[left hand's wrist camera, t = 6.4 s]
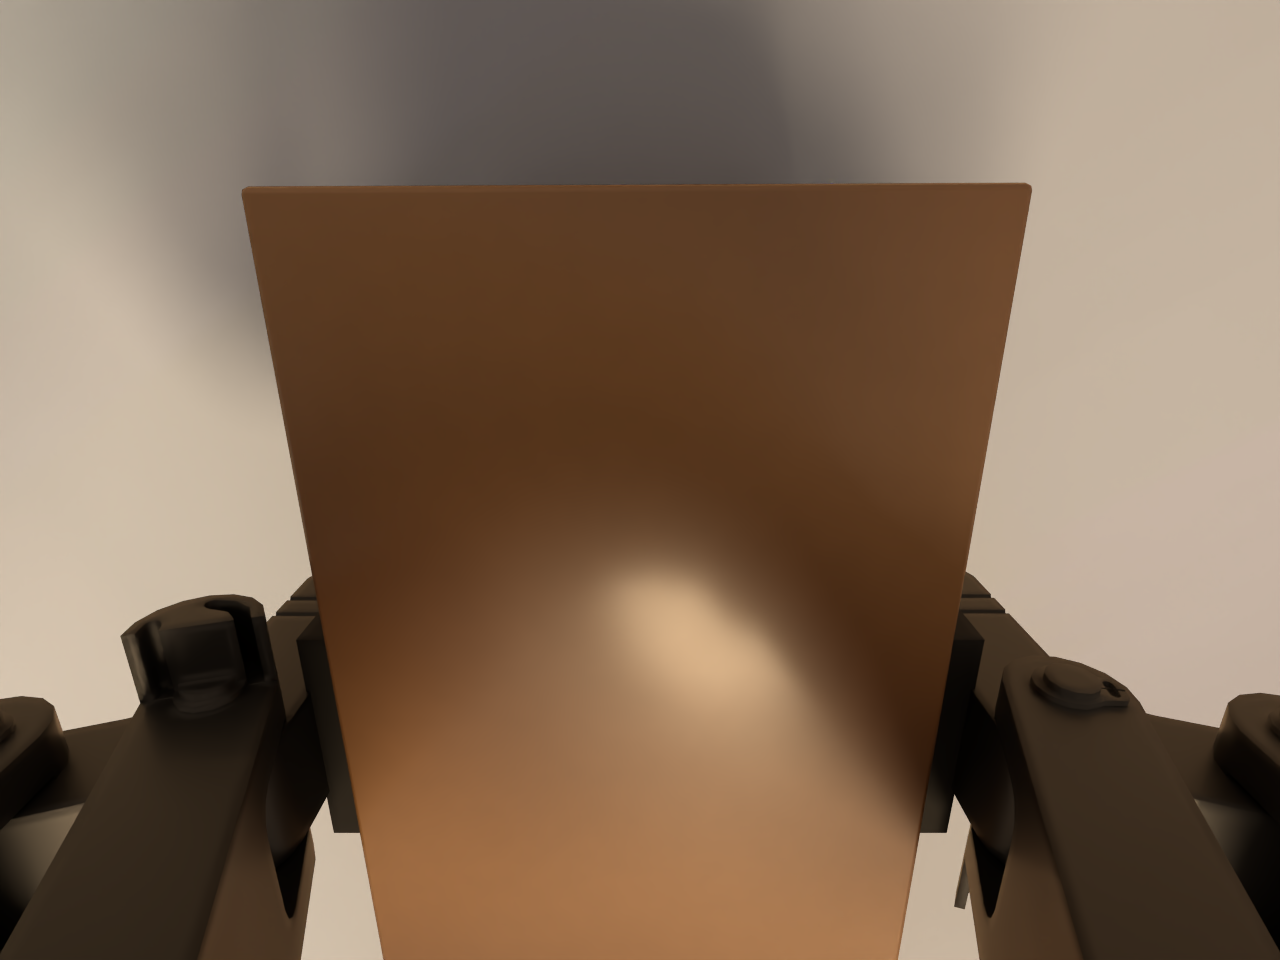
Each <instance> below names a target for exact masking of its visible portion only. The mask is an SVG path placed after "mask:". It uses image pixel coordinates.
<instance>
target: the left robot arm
mask: <svg viewBox="0 0 1280 960" xmlns="http://www.w3.org/2000/svg"><path fill="white" fill-rule="evenodd" d="M121 639H122V643H123V646H124V649H125V653H126V656H127V660H128V663H129V666H130V670H131V673H132V676H133V680H134V683H135V686H136V690H137V693H138V697H139V700H140V705H139V707H138V708H137V710H136V712H135V714H134V716H133V717H132V718H128V719H123V720H118V721H113V722H107V723H102V724H97V725H92V726H87V727H82V728H76V729H71V730H66V731H62V728H61V725H60V722H59V719H58V716H57V714H56V711H55V708H54V706H53V705H52V704H50V703H49V702H47V701H46V700H44V699H43V698H35V697H25V696H19V697H12V698H5V699H0V960H301V954H302V947H303V940H304V934H305V927H306V920H307V913H308V906H309V900H310V893H311V886H312V879H313V872H314V866H315V851H314V843H313V839H312V834H311V829H310V827H311V825H312V823H313V821H314V819H315V817H316V816H317V814H318V812H319V810H320V808H321V806H322V805H323V803H324V801H325V799H326V797H327V800H328V805H329V810H330V815H331V820H332V825H333V830H334V833H360V830H359V824H358V819H357V814H356V808H355V803H354V797H353V792H352V787H351V781H350V776H349V770H348V765H347V760H346V754H345V749H344V744H343V738H342V733H341V727H340V722H339V717H338V711H337V706H336V700H335V695H334V690H333V684H332V679H331V673H330V668H329V663H328V657H327V652H326V646H325V641H324V636H323V630H322V625H321V619H320V614H319V609H318V603H317V598H316V593H315V587H314V582H313V576H311V577H310V578H308V579H307V580H306V581H305V582H304V583H303V584H302V585H301V586H300V587H299V588H298V589H297V590H296V592H295V593H294V594H293V595H292V596H291V599H290V601H286V602H285V603H284V604H283V605H282V606H281V608H280V609H279V610H278V611H277V612H276V616H272V617H271V618H270V619H269V620H268V621H267V622H266V617H265V612H264V608H263V605H262V604H261V603H259V602H258V601H257V600H255V599H254V598H252V597H246V596H240V595H235V594H231V595H211V596H205V597H201V598H196V599H191V600H186V601H182V602H179V603H176V604H174V605H171V606H168V607H165V608H162V609H160V610H157V611H155V612H153V613H151V614H150V615H148V616H146V617H144V618H142V619H141V620H139V621H137V622H135V623H134V624H133V625H132V626H131V627H130V628H129V629H128V630H126V631H125V632H124V633H123V634H122V635H121ZM954 794H955V796H956V798H957V800H958V802H959V803H960V805H961V807H962V809H963V811H964V812H965V814H966V816H967V818H968V820H969V822H970V823H971V825H970V829H969V834H968V839H967V843H966V848H965V853H964V858H963V862H962V867H961V872H960V876H959V881H958V886H957V891H956V898H955V906H954V907H958V908H962V909H965V905H966V901H967V896H968V893H969V892H970V898H971V905H972V911H973V918H974V925H975V932H976V939H977V945H978V952H979V959H980V960H1280V696H1279V695H1272V694H1265V693H1255V694H1244V695H1239V696H1237V697H1236V698H1234V699H1233V700H1231V701H1230V702H1229V703H1228V705H1227V708H1226V711H1225V713H1224V716H1223V719H1222V722H1221V725H1220V728H1216V727H1211V726H1206V725H1201V724H1196V723H1190V722H1185V721H1180V720H1175V719H1170V718H1164V717H1159V716H1154V715H1150V714H1146V713H1145V711H1144V709H1143V707H1142V705H1141V704H1140V702H1139V701H1138V700H1137V699H1136V697H1135V696H1134V695H1133V694H1132V693H1131V692H1130V691H1129V690H1128V688H1127V687H1125V686H1124V685H1122V684H1121V683H1119V682H1118V681H1116V680H1115V679H1113V678H1112V677H1110V676H1109V675H1107V674H1105V673H1103V672H1101V671H1098V670H1096V669H1094V668H1091V667H1089V666H1086V665H1084V664H1082V663H1078V662H1074V661H1070V660H1066V659H1062V658H1058V657H1049V656H1048V654H1047V653H1046V652H1045V651H1044V650H1043V649H1042V648H1041V647H1040V646H1039V645H1038V644H1037V643H1036V642H1035V641H1034V640H1033V639H1032V638H1031V636H1030V635H1029V634H1028V633H1027V632H1026V631H1025V630H1024V629H1023V628H1022V627H1021V626H1020V625H1019V624H1018V623H1017V622H1016V621H1015V620H1014V618H1013V617H1012V616H1011V615H1010V614H1006V613H1005V609H1004V608H1003V607H1002V606H1001V605H1000V604H999V603H998V602H997V600H996V599H995V598H991V594H990V593H989V592H988V591H987V590H986V589H985V588H984V587H983V586H982V585H981V584H980V582H979V581H978V580H977V579H976V578H975V577H974V576H972V575H971V574H969V573H967V572H965V577H964V583H963V588H962V594H961V600H960V606H959V611H958V617H957V623H956V628H955V634H954V640H953V646H952V651H951V657H950V663H949V669H948V674H947V680H946V686H945V692H944V697H943V703H942V709H941V714H940V720H939V726H938V732H937V737H936V743H935V749H934V755H933V760H932V766H931V772H930V778H929V783H928V789H927V795H926V800H925V806H924V812H923V818H922V823H921V829H920V833H947V828H948V823H949V818H950V813H951V808H952V803H953V798H954Z"/></svg>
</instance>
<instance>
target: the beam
mask: <svg viewBox="0 0 1280 960" xmlns="http://www.w3.org/2000/svg"><path fill="white" fill-rule="evenodd" d="M1031 193H1032V188H1031V185H1029V184H1027V183H876V184H670V185H463V186H257V187H246V188H244V189H243V190H242V199H243V204H244V210H245V215H246V220H247V226H248V231H249V237H250V242H251V247H252V253H253V258H254V264H255V269H256V274H257V280H258V285H259V291H260V296H261V301H262V307H263V312H264V318H265V323H266V328H267V334H268V339H269V345H270V350H271V355H272V361H273V366H274V371H275V377H276V382H277V388H278V393H279V398H280V404H281V409H282V415H283V420H284V425H285V431H286V436H287V442H288V447H289V452H290V458H291V463H292V469H293V474H294V479H295V485H296V490H297V495H298V501H299V506H300V512H301V517H302V522H303V528H304V533H305V539H306V544H307V549H308V555H309V560H310V566H311V571H312V576H313V582H314V587H315V593H316V598H317V603H318V609H319V614H320V619H321V625H322V630H323V636H324V641H325V646H326V652H327V657H328V663H329V668H330V673H331V679H332V684H333V690H334V695H335V700H336V706H337V711H338V717H339V722H340V727H341V733H342V738H343V744H344V749H345V754H346V760H347V765H348V770H349V776H350V781H351V787H352V792H353V797H354V803H355V808H356V814H357V819H358V824H359V830H360V835H361V841H362V846H363V851H364V857H365V862H366V868H367V873H368V878H369V884H370V889H371V894H372V900H373V905H374V911H375V916H376V921H377V927H378V932H379V938H380V943H381V948H382V954H383V959H384V960H898V955H899V950H900V944H901V938H902V932H903V927H904V921H905V915H906V909H907V904H908V898H909V892H910V886H911V881H912V875H913V869H914V864H915V858H916V852H917V846H918V841H919V835H920V829H921V823H922V818H923V812H924V806H925V800H926V795H927V789H928V783H929V778H930V772H931V766H932V760H933V755H934V749H935V743H936V737H937V732H938V726H939V720H940V714H941V709H942V703H943V697H944V692H945V686H946V680H947V674H948V669H949V663H950V657H951V651H952V646H953V640H954V634H955V628H956V623H957V617H958V611H959V606H960V600H961V594H962V588H963V583H964V577H965V571H966V565H967V560H968V554H969V548H970V542H971V537H972V531H973V525H974V520H975V514H976V508H977V502H978V497H979V491H980V485H981V479H982V474H983V468H984V462H985V457H986V451H987V445H988V439H989V434H990V428H991V422H992V416H993V411H994V405H995V399H996V393H997V388H998V382H999V376H1000V371H1001V365H1002V359H1003V353H1004V348H1005V342H1006V336H1007V330H1008V325H1009V319H1010V313H1011V307H1012V302H1013V296H1014V290H1015V285H1016V279H1017V273H1018V267H1019V262H1020V256H1021V250H1022V244H1023V239H1024V233H1025V227H1026V221H1027V216H1028V210H1029V204H1030V199H1031Z"/></svg>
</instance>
